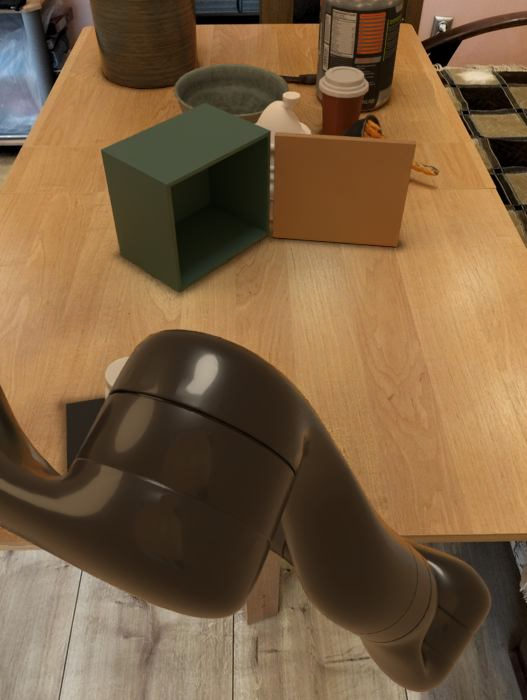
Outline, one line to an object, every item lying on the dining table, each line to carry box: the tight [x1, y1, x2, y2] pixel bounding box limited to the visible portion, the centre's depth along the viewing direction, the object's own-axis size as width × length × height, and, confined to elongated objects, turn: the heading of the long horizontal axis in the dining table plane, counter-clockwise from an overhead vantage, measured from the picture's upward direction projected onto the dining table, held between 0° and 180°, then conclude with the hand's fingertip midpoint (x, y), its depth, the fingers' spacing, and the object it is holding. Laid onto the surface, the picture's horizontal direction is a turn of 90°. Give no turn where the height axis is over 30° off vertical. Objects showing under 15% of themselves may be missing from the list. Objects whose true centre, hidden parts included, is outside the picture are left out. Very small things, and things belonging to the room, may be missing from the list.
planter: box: [88, 0, 199, 89], centre depth 139 cm, size 22×22×20 cm
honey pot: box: [255, 91, 312, 221], centre depth 102 cm, size 13×13×18 cm
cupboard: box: [100, 103, 271, 293], centre depth 93 cm, size 13×19×17 cm
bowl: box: [173, 63, 290, 124], centre depth 120 cm, size 21×21×10 cm
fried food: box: [342, 113, 440, 177], centre depth 112 cm, size 9×11×18 cm
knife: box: [278, 73, 317, 85], centre depth 142 cm, size 28×2×5 cm
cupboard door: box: [272, 132, 417, 248], centre depth 95 cm, size 6×19×17 cm, turn 83°
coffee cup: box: [319, 66, 369, 136], centre depth 119 cm, size 9×9×12 cm
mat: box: [65, 397, 105, 473], centre depth 73 cm, size 16×12×1 cm
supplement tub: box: [315, 0, 404, 112], centre depth 127 cm, size 16×16×26 cm
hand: (151, 403), depth 66 cm, fingers open, 8 cm apart
